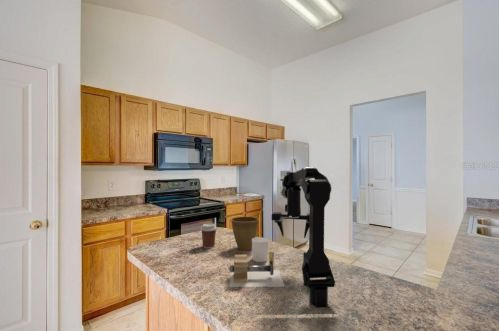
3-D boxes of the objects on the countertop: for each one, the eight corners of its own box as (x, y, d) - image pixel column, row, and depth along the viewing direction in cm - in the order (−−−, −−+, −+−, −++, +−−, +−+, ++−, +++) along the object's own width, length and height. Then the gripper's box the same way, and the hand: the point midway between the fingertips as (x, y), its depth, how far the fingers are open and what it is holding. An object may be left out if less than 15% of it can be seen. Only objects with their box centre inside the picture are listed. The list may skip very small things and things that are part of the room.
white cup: (248, 262, 109) (248, 240, 109) (256, 256, 116) (256, 236, 116) (264, 265, 105) (264, 243, 106) (270, 259, 112) (271, 238, 113)
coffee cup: (198, 245, 133) (198, 224, 133) (213, 243, 137) (213, 222, 137) (203, 250, 125) (203, 227, 125) (219, 247, 129) (219, 225, 129)
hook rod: (274, 277, 90) (274, 254, 90) (228, 277, 89) (228, 254, 89) (272, 271, 94) (273, 250, 94) (229, 272, 94) (229, 250, 94)
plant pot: (259, 244, 135) (259, 216, 135) (256, 253, 120) (256, 222, 120) (234, 243, 137) (234, 215, 137) (228, 252, 122) (228, 221, 123)
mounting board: (284, 288, 85) (284, 286, 85) (229, 289, 84) (229, 286, 84) (278, 271, 99) (278, 269, 99) (231, 272, 98) (231, 270, 98)
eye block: (247, 282, 88) (247, 262, 88) (233, 282, 87) (234, 262, 88) (246, 273, 96) (247, 254, 96) (234, 273, 95) (234, 254, 96)
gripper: (315, 199, 108) (315, 233, 107) (274, 198, 112) (274, 231, 112) (316, 202, 97) (316, 240, 96) (271, 200, 101) (271, 237, 101)
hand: (293, 237), depth 102 cm, fingers open, 9 cm apart
